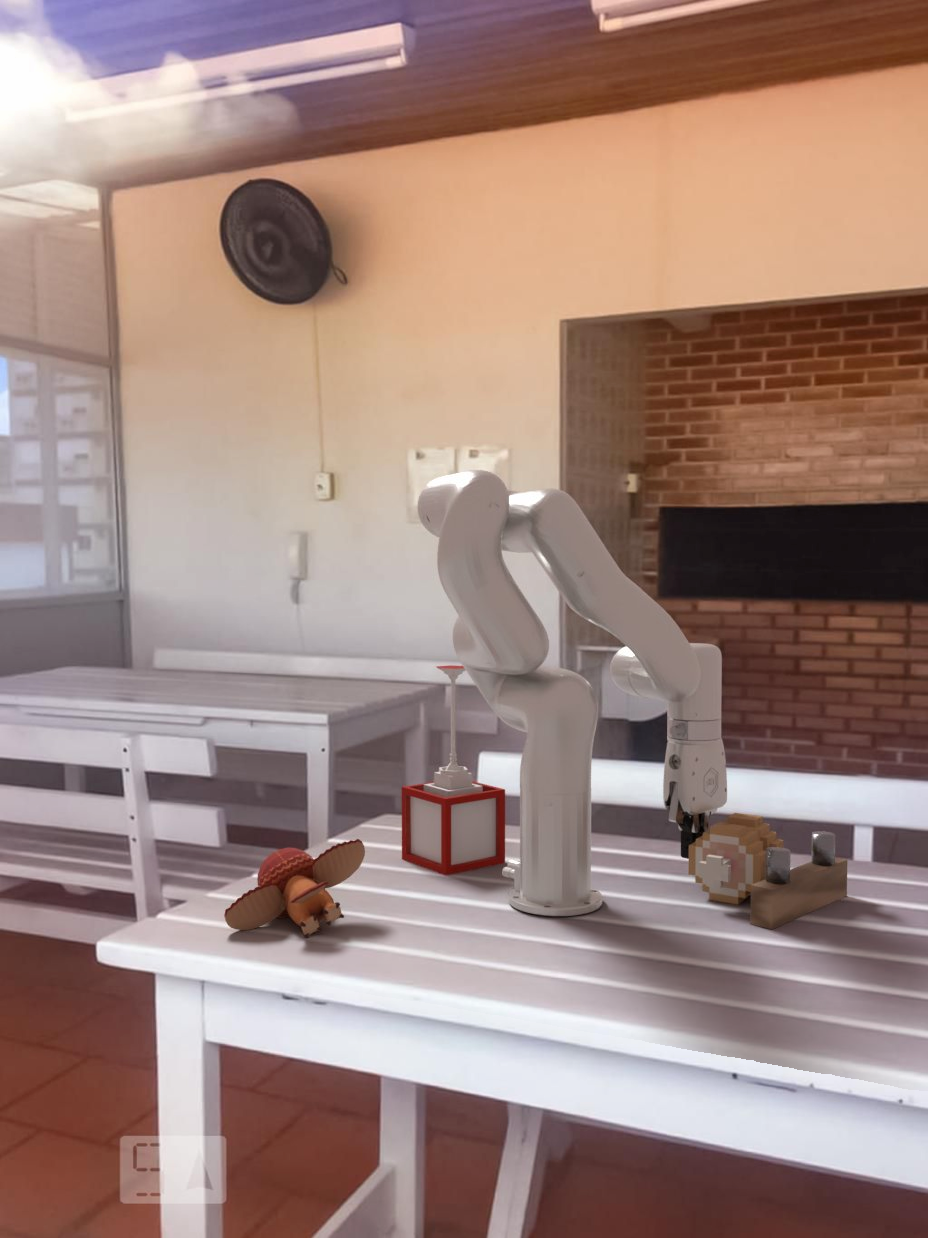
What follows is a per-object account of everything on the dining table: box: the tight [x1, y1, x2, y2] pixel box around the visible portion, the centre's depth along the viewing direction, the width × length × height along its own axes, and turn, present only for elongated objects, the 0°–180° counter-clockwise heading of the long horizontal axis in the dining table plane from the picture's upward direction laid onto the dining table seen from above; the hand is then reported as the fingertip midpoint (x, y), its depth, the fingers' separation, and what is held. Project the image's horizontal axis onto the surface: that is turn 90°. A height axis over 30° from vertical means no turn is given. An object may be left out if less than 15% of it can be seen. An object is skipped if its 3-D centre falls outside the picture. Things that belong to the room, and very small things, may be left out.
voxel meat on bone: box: [688, 812, 784, 905], centre depth 150 cm, size 10×18×10 cm, turn 147°
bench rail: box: [749, 830, 848, 930], centre depth 143 cm, size 3×20×9 cm, turn 134°
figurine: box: [223, 838, 366, 939], centre depth 139 cm, size 20×9×15 cm
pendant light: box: [401, 664, 506, 876], centre depth 167 cm, size 11×11×30 cm
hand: (693, 857), depth 155 cm, fingers closed
